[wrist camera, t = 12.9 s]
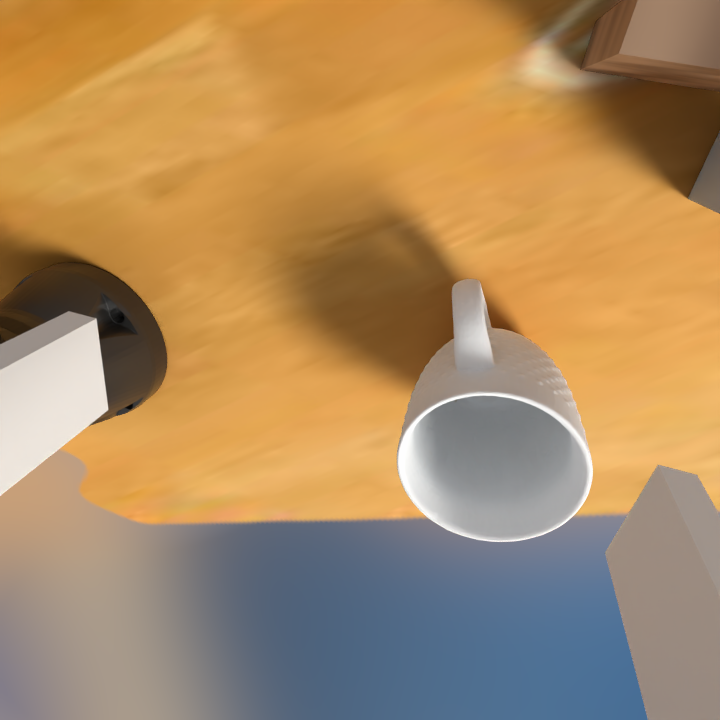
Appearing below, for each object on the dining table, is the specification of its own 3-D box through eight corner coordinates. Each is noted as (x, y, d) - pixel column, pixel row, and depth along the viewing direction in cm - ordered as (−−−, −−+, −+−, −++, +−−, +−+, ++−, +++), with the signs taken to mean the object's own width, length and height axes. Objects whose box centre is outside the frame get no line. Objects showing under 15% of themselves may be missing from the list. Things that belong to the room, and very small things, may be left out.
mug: (396, 270, 37) (355, 342, 26) (548, 238, 33) (577, 305, 22) (436, 430, 43) (417, 545, 32) (570, 417, 39) (602, 542, 28)
